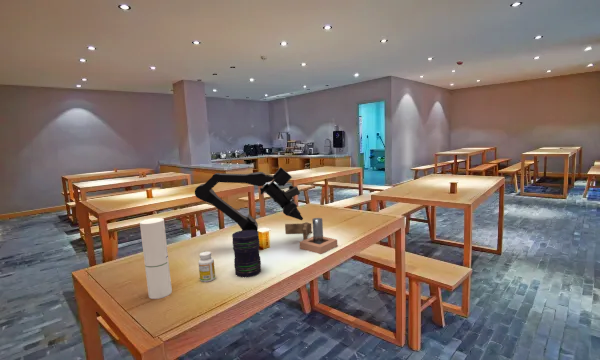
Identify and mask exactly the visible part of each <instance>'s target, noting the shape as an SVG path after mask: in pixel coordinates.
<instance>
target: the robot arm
mask: <svg viewBox="0 0 600 360" xmlns="http://www.w3.org/2000/svg"><path fill="white" fill-rule="evenodd" d="M292 178H293V177H292V175H291V174H290V173H288V172H287V171H286V170H285V169H284V168H282V167H281V166H280V167H279V168H278V170H276V172H275V173H274V174H273V175H272V174H266V173H265V172H263V171H256V172H250V173H220V172H215V173H214V174H213V175H212V176H211V177H210V178H209V179H208V180H207V181H206V182H205V183H202V184H200V185H198V186H196V188H195V189H194V195H195V197H196V198H197V199H199V200H201V201H203V202H205V203H207V204H211V205H212V206H214V207H215V208H216V209H218V210H219V211H221V213H223V214H224V215H225V216H227V217H228V218H230V219H231V220H232V221H234V222H235V223H236V224H238V227H240V229H241V231H242V230H255V231H258V229H259V227H258V226H259V224H258V222H257V219H256V218H254V217H252V216H251V214H248V215H247V216H246V215H243V213H241V212H239V211H238V210H237V209H236V208H234V207H233V206H231V204H229V203H227V201H224V199H222V198H221V197H220V196H219V195H218V194H217V193H216V192H215V190H214V189H213V188H214V187H215V186H216V185H218V184H219V183H225V184H226V183H231V184H248V185H250V186H252V185H253V186H257V187H260V188H259V191H260V195H263V194H264V193H266V194H267V196H269V197H270V198H271V199H272V200H273V202H274V203H276V204H277V205H278V206H279V207H280V208H281V209H282V213H283V214H284V215H285V216H287V217H290V218H294V219H296V220H300V221H303V219H304V217H303V216H302V213H301V212H300V211H299V209H298V205H297V203H296V202H295V199H294V197H296V196H299V195H301V193H300V190H299V188H298V186H297V185H292V184H290V185H289V186H288V189H287V190H283V189H282V188H280V187H284V186H285V185H286V184H288V182H289V181H290V180H291V179H292Z"/></svg>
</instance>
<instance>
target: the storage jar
mask: <svg viewBox="0 0 600 360" xmlns="http://www.w3.org/2000/svg"><path fill="white" fill-rule="evenodd" d="M231 234H232V235H231V237H232V249H233V253H234V254H233V256H234V258H233V261H234V264H233V265H234V271H235V274H234V275H235V276H236V275H237V276H236V277H238V278H243V277H244V278H245V277H246V278H252V277H256V276H257V275H259V274H260V273H261V272H262V268H261V266H262V262H261V256H260V245H261V244H260V237H259V231H258V230H257V231H255V230H242V229H241V230H239V231H235V232H234V233H231ZM246 278H245V279H246Z"/></svg>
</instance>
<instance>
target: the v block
mask: <svg viewBox="0 0 600 360" xmlns="http://www.w3.org/2000/svg"><path fill="white" fill-rule="evenodd" d="M284 224H285V226H284V228H285V229H284V231H285V235H295V234H296V235H299V234H300V235H301V234H302V238H303V240H306V239H308V236H309V235H310V234H313V226H312V223H310V222H307V221H306V222H302V223H301V222H300V223H284ZM303 240H302V241H303Z"/></svg>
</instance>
